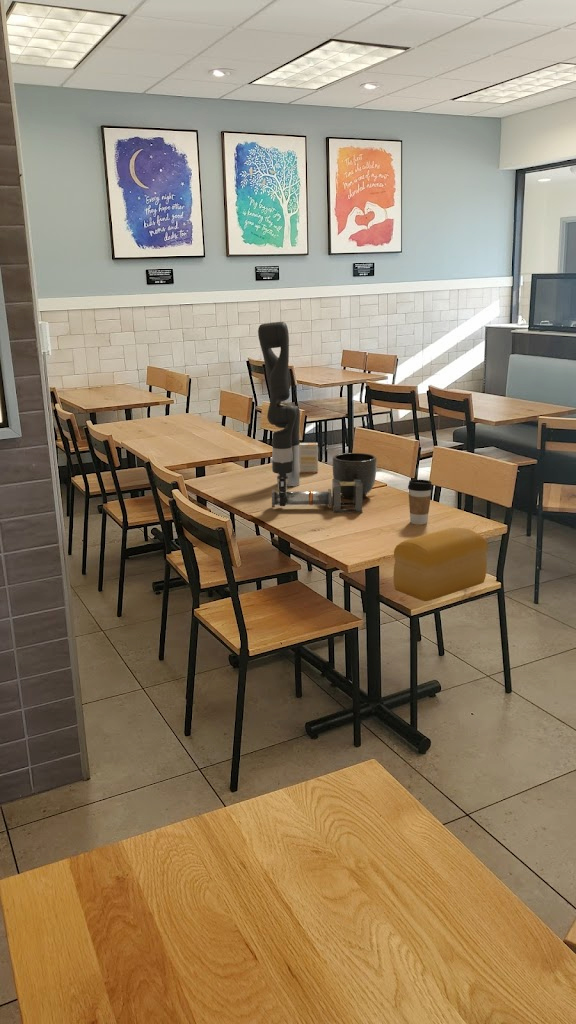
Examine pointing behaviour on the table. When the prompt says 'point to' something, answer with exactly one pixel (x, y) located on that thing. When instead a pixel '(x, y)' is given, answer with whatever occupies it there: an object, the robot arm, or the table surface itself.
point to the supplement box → (308, 457)
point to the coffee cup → (419, 500)
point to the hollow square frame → (356, 502)
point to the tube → (303, 498)
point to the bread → (440, 563)
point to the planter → (355, 471)
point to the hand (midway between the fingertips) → (282, 503)
